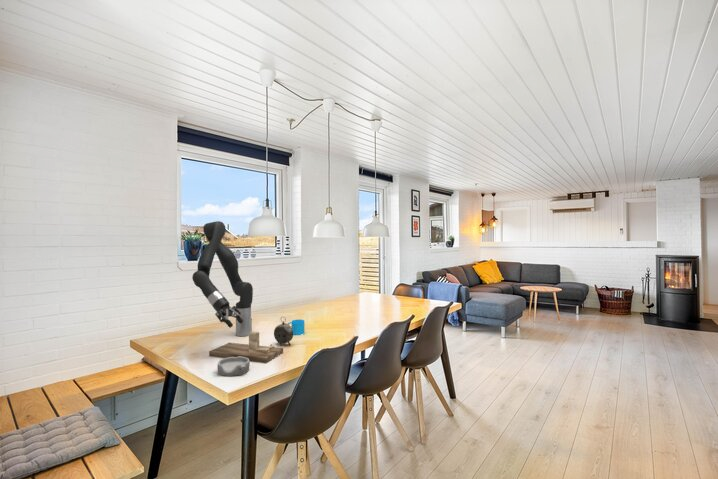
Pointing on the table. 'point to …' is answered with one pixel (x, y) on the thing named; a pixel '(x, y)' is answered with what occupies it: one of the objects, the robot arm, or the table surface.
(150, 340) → the table surface
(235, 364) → the dish
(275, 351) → the walnut board
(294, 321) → the mug
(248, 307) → the robot arm
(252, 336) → the marking gauge
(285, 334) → the alarm clock
